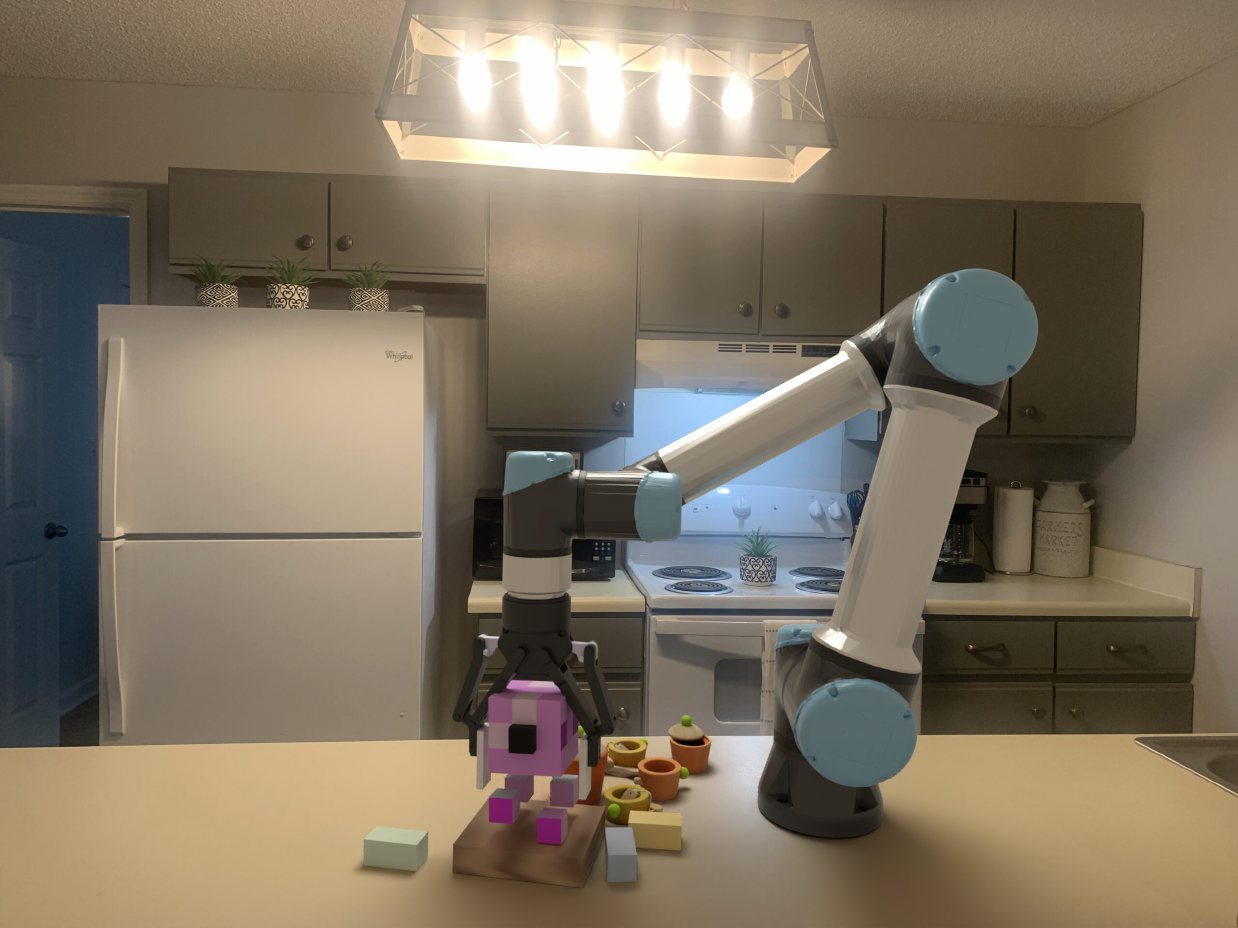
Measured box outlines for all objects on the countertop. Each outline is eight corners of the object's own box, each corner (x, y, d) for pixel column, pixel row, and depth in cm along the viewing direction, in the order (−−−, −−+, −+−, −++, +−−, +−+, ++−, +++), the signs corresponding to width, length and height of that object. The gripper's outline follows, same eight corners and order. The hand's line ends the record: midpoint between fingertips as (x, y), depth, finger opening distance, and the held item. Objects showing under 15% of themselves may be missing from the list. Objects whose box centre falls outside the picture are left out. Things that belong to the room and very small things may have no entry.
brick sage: (427, 858, 89) (428, 831, 89) (416, 872, 86) (416, 844, 86) (376, 852, 90) (376, 825, 90) (363, 866, 88) (363, 838, 87)
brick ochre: (681, 838, 95) (681, 813, 95) (681, 851, 92) (681, 825, 92) (629, 835, 95) (630, 810, 95) (627, 848, 92) (628, 822, 92)
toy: (558, 849, 85) (557, 703, 85) (484, 844, 86) (484, 700, 87) (581, 809, 95) (580, 679, 96) (515, 805, 97) (514, 677, 97)
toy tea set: (635, 845, 93) (636, 762, 93) (526, 811, 101) (527, 734, 101) (727, 768, 116) (729, 700, 115) (632, 745, 124) (634, 681, 123)
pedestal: (605, 832, 96) (605, 806, 96) (582, 887, 84) (583, 858, 84) (490, 819, 98) (490, 795, 98) (452, 872, 86) (452, 844, 86)
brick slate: (604, 853, 91) (605, 827, 91) (631, 853, 91) (632, 827, 91) (607, 883, 85) (608, 854, 85) (636, 882, 85) (636, 854, 85)
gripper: (647, 591, 92) (643, 784, 92) (448, 580, 96) (446, 766, 96) (636, 604, 84) (632, 814, 85) (422, 592, 88) (420, 793, 89)
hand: (533, 789), depth 91 cm, fingers open, 11 cm apart
